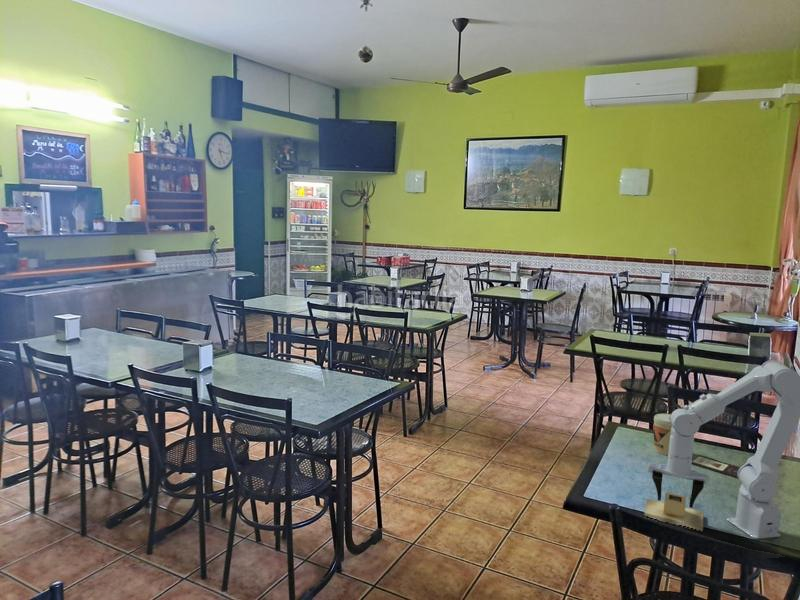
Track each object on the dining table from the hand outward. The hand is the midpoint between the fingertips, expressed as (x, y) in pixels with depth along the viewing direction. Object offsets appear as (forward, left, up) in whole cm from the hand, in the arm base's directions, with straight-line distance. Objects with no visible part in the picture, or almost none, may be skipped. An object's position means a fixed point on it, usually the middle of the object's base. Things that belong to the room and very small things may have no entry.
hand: (675, 502), depth 155 cm
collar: (0, 0, -3) cm, 3 cm away
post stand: (0, 0, -4) cm, 4 cm away
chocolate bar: (+24, -37, -5) cm, 44 cm away
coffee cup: (+40, -27, -4) cm, 48 cm away
